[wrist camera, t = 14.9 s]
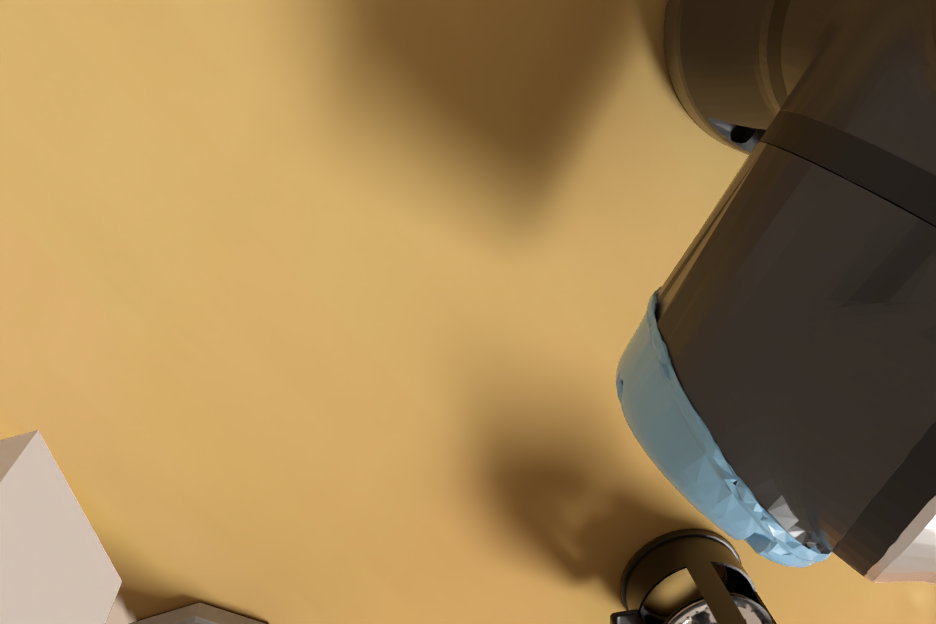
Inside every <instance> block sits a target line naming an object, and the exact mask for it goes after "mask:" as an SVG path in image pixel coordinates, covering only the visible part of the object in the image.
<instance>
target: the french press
mask: <svg viewBox="0 0 936 624" xmlns="http://www.w3.org/2000/svg"><path fill="white" fill-rule="evenodd" d="M712 564H719V565H724V567H725V580H724V583H723V582H722V580H721V579H720V577H719V575H718V574H717V572H716V570H715V569H714V567H713V565H712ZM685 568H687V569H688V571H689V573H690V575H691V577H692V579H693V580H694V582H695V584H696V586H697V588H698V589H699V591H700V593H701V595H702V596H700V597H698V598H695V599H693V600H691V601H689V602H688V603H686V604H684V605H683V606H681V607H680V608H679V609H677V610H676V611H675V612H674V613H672V614H671V615H670V617H663V616H659V615H656V614H654V613H652V612H650V611H649V610H647V609H646V608H645V607H644V606H643V603H644V601H645V599H646V598H647V596H648V594H649V593H650V592H651V591H652V590H653V589H654V588H655V586H656V585H658V584H659V583H660V582H661V581H662V580H664V579H665V578H667V577H668V576H670V575H672V574H673V573H675V572H677V571H680V570H682V569H685ZM620 593H621V600H622V602H623V604H624V607H625V609H626V611H622V612H616V613H612V614H611V616H610V624H776V622H775V620H774V619H773V617H772V616H771V614H770V613H769V611H768V610H767V608H766V606H765V605H764V603H763V602H762V600H761V599H760V597H759V596H758V594H757V592H756V590H755V587H754V584H753V582H752V581H751V579H750V578H749V576H748V575H747V573H746V571H745V570H744V568H743V567H742V564H741V561H740V558H739V555H738V554H737V552H736V551H735V549H734V548H733V546H732V545H731V544H730V543H729V542H728V541H727V540H726V539H724V538H723V537H721V536H719V535H717V534H715V533H712V532H709V531H705V530H696V529H690V530H680V531H676V532H672V533H668V534H666V535H663V536H661V537H658V538H656V539H655V540H653V541H651V542H650V543H648V544H646V545H645V546H644V547H643V548H642V549H640V550H639V551H638V552H637V553H636V554H635V555H634V557H633V558H632V559H631V560H630V561H629V563H628V565H627V567H626V568H625V570H624V573H623V576H622V579H621V586H620Z"/></svg>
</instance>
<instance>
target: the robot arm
mask: <svg viewBox="0 0 936 624" xmlns="http://www.w3.org/2000/svg"><path fill="white" fill-rule="evenodd" d="M664 47H665V57H666V63H667V68H668V72H669V76H670V79H671V82H672V85H673V87H674V90H675V92H676V94H677V96H678V98H679V100H680V102H681V104H682V105H683V107H684V109H685V110H686V111H687V113H688V114H689V116H690V117H691V118H692V119H693V120H694V121H695V123H696V124H697V125H698V126H699V127H700V128H701V129H702V130H704V131H705V132H706V133H707V134H709V135H710V136H711V137H713V138H714V139H716V140H717V141H719V142H721V143H723V144H725V145H727V146H729V147H731V148H733V149H736V150H738V151H740V152H742V153H745V154H747V155H749V156H748V158H747V159H746V161H745V162H744V164H743V165H742V167H741V168H740V170H739V172H738V173H737V175H736V176H735V178H734V179H733V181H732V182H731V184H730V185H729V187H728V188H727V190H726V192H725V193H724V195H723V196H722V198H721V199H720V201H719V202H718V204H717V205H716V207H715V208H714V210H713V212H712V213H711V215H710V216H709V218H708V219H707V221H706V222H705V224H704V225H703V227H702V228H701V230H700V231H699V233H698V234H697V236H696V237H695V239H694V240H693V242H692V243H691V245H690V246H689V248H688V249H687V251H686V252H685V254H684V255H683V256H682V258H681V259H680V261H679V262H678V264H677V265H676V267H675V268H674V270H673V271H672V273H671V274H670V276H669V277H668V279H667V280H666V282H665V283H664V285H663V286H662V287H659V288H658V290H657V291H655V292H654V293H653V295H652V296H651V297H650V300H649V303H648V307H647V313H646V314H645V316H644V318H643V320H642V322H641V323H640V325H639V327H638V329H637V330H636V332H635V334H634V335H633V337H632V339H631V340H630V342H629V344H628V345H627V347H626V349H625V350H624V352H623V354H622V356H621V358H620V361H619V364H618V367H617V373H616V387H617V393H618V398H619V400H620V403H621V406H622V411H623V413H624V417H625V419H626V421H627V423H628V425H629V427H630V428H631V430H632V432H633V434H634V436H635V437H636V439H637V440H638V442H639V443H640V445H641V446H642V448H643V449H644V451H645V452H646V453H647V455H648V456H649V457H650V459H651V460H652V461H653V463H654V464H655V465H656V466H657V468H658V469H659V470H660V471H661V472H662V474H663V475H664V476H665V477H666V478H667V479H668V480H669V481H670V483H671V484H672V485H673V486H674V487H675V488H676V489H677V490H678V491H679V492H680V493H681V494H682V495H683V496H684V497H685V498H686V499H687V500H688V501H689V502H690V503H691V504H692V505H693V506H694V507H695V508H696V509H697V510H699V511H700V512H701V513H702V514H703V515H704V516H705V517H707V518H708V519H709V520H710V521H711V522H712V523H714V524H715V525H716V526H717V527H719V528H720V529H721V530H723V531H724V532H725V533H727V534H728V535H729V536H731V537H733V538H734V539H736V540H742V539H744V540H745V541H746V542H747V543H748V544H749V545H750V546H751V547H752V548H753V549H754V550H755V552H756V553H757V554H759V555H761V556H763V557H765V558H767V559H769V560H771V561H773V562H775V563H778V564H781V565H785V566H791V567H799V568H803V567H807V566H810V565H812V564H814V563H815V562H821V561H824V560H826V559H827V558H828V557H829V556H830V555H831V553H832V552H833V553H835V554H836V555H837V556H838V557H840V558H841V559H842V560H843V561H845V562H846V563H847V564H848V565H850V566H851V567H852V568H853V569H855V570H856V571H857V572H858V573H860V574H861V575H862V576H864V577H865V578H867V579H868V580H870V581H871V582H873V583H883V582H927V583H931V584H935V585H936V0H668V3H667V8H666V15H665V24H664ZM121 583H122V580H121V578H120V577H119V575H118V573H117V571H116V569H115V568H114V566H113V564H112V562H111V560H110V559H109V557H108V555H107V553H106V551H105V550H104V548H103V546H102V544H101V542H100V541H99V539H98V537H97V535H96V533H95V532H94V530H93V528H92V526H91V524H90V523H89V521H88V519H87V517H86V515H85V514H84V512H83V510H82V508H81V506H80V505H79V503H78V501H77V499H76V497H75V496H74V494H73V492H72V490H71V488H70V486H69V485H68V483H67V481H66V479H65V477H64V476H63V474H62V472H61V470H60V468H59V467H58V465H57V463H56V461H55V459H54V458H53V456H52V454H51V452H50V450H49V449H48V447H47V445H46V443H45V441H44V440H43V438H42V436H41V434H40V432H39V431H38V430H37V431H33V432H29V433H25V434H22V435H18V436H14V437H11V438H7V439H3V440H0V624H105V623H106V620H107V618H108V616H109V613H110V611H111V608H112V606H113V603H114V601H115V598H116V596H117V593H118V591H119V588H120V586H121Z"/></svg>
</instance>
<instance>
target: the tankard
mask: <svg viewBox="0 0 936 624" xmlns="http://www.w3.org/2000/svg"><path fill="white" fill-rule="evenodd" d="M130 624H265V623H262V622H259V621H256V620H253V619H250V618H247V617H243V616H240V615H237V614H234V613H231V612H228V611H225V610H222V609H219V608H215V607H212V606H209V605H206V604H203V603H196V604H193V605H190V606H186V607H183V608H180V609H176V610H173V611H170V612H166V613H163V614H160V615H156V616H153V617H150V618H146V619H143V620H140V621H137V622H133V623H130Z"/></svg>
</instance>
